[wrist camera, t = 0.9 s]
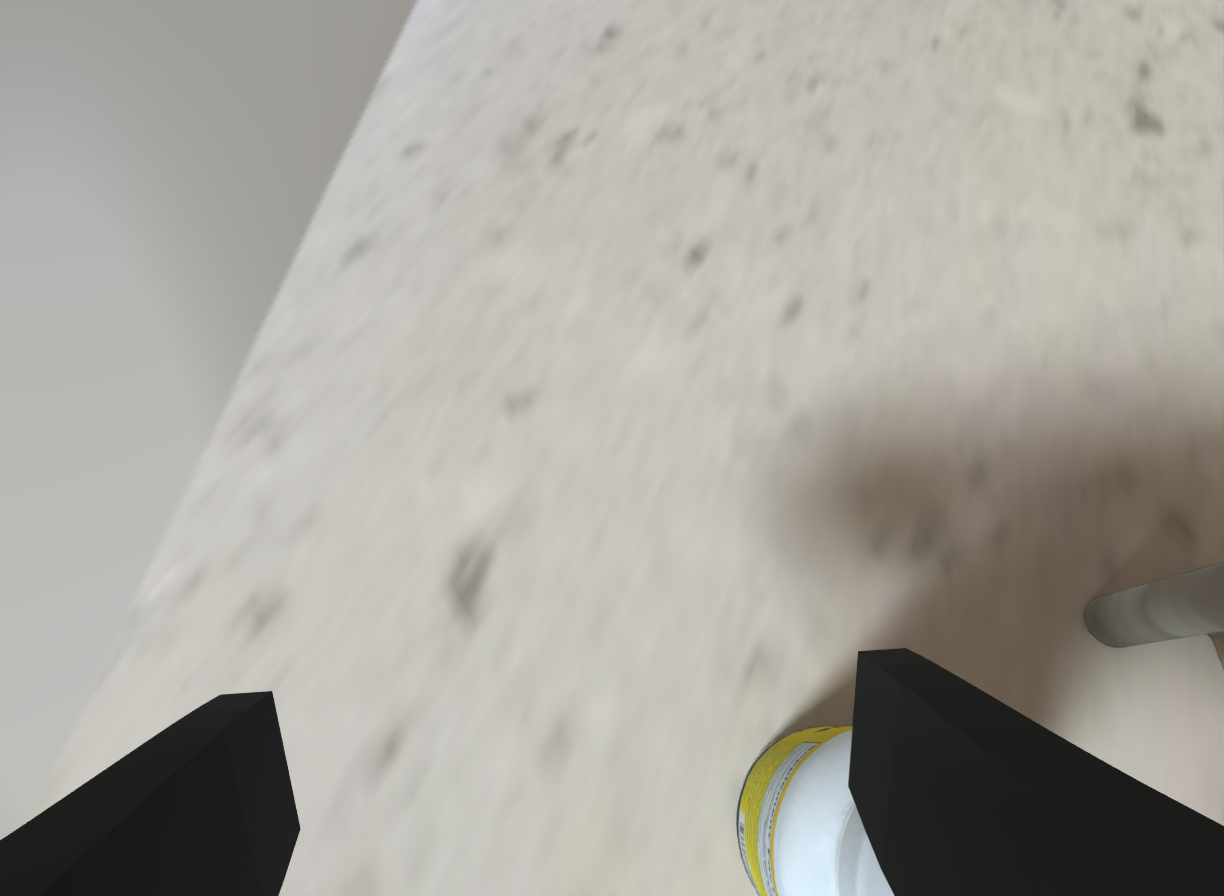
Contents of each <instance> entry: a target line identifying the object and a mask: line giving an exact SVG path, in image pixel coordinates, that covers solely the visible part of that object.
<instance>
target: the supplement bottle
mask: <svg viewBox="0 0 1224 896" xmlns="http://www.w3.org/2000/svg"><path fill="white" fill-rule="evenodd" d="M852 727H853V725H846V726H833V727H813V728H807V729H802V730H798V731H795V732H792V733H789V734H787V735H785V736H783V737H781V738H779V739H777V740H776V741H774V742H773V743H771V744H770V745H769V746H768V747H767V748H766V749H765V750H764V751H763V752H762V753H761V754H760V755H759V756H758V757H757V758H756V760H755V761H754V762H753V764H752V765H751V767H750V769H749V770H748V772H747V774H746V776H745V778H744V781H743V784H742V787H741V790H740V793H739V796H738V802H737V808H736V836H737V842H738V848H739V852H740V856H741V859H742V862H743V865H744V867H745V870H746V872H747V875H748V877H749V879H750V881H751V883H752V885H753V886H754V888H755V890H756V892H757V894H758V895H759V896H894V894H893V892H892V890H891V888H890V886H889V884H888V882H887V880H886V878H885V876H884V874H883V872H882V870H881V868H880V866H879V863H878V861H877V858H876V856H875V853H874V851H873V849H872V846H871V844H870V841H869V839H868V836H867V834H866V832H865V829H864V826H863V824H862V821H861V818H860V816H859V813H858V811H857V808H856V805H855V803H854V800H853V798H852V795H851V792H850V790H849V787H848V780H849V767H850V753H851V740H852Z"/></svg>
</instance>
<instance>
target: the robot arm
mask: <svg viewBox="0 0 1224 896" xmlns="http://www.w3.org/2000/svg"><path fill="white" fill-rule="evenodd" d="M848 787H849V790H850V792H851V795H852V798H853V800H854V803H855V805H856V808H857V811H858V813H859V816H860V818H861V821H862V824H863V826H864V829H865V832H866V834H867V836H868V839H869V841H870V844H871V846H872V849H873V851H874V853H875V856H876V858H877V861H878V863H879V866H880V868H881V870H882V872H883V874H884V876H885V878H886V880H887V882H888V884H889V886H890V888H891V890H892V892H893V894H894V896H1224V826H1223V825H1221V824H1219V823H1217V822H1215V821H1213V820H1211V819H1209V818H1207V817H1206V816H1204V815H1202V814H1200V813H1198V812H1196V811H1194V810H1192V809H1191V808H1189V807H1187V806H1185V805H1183V804H1181V803H1179V802H1177V801H1175V800H1174V799H1172V798H1170V797H1168V796H1166V795H1164V794H1162V793H1160V792H1158V791H1157V790H1155V789H1153V788H1151V787H1149V786H1147V785H1145V784H1143V783H1142V782H1140V781H1138V780H1136V779H1134V778H1133V777H1131V776H1129V775H1127V774H1125V773H1124V772H1122V771H1120V770H1118V769H1116V768H1115V767H1113V766H1111V765H1109V764H1107V763H1105V762H1104V761H1102V760H1100V759H1098V758H1097V757H1095V756H1093V755H1091V754H1090V753H1088V752H1086V751H1084V750H1083V749H1081V748H1079V747H1077V746H1076V745H1074V744H1072V743H1070V742H1069V741H1067V740H1065V739H1063V738H1062V737H1060V736H1058V735H1056V734H1055V733H1053V732H1051V731H1050V730H1048V729H1046V728H1044V727H1043V726H1041V725H1039V724H1038V723H1036V722H1034V721H1032V720H1031V719H1029V718H1027V717H1026V716H1024V715H1022V714H1021V713H1019V712H1017V711H1015V710H1014V709H1012V708H1010V707H1009V706H1007V705H1005V704H1004V703H1002V702H1000V701H999V700H997V699H995V698H993V697H992V696H990V695H988V694H987V693H985V692H983V691H982V690H980V689H978V688H977V687H975V686H973V685H971V684H970V683H968V682H966V681H965V680H963V679H961V678H960V677H958V676H956V675H954V674H953V673H951V672H949V671H947V670H946V669H944V668H942V667H940V666H939V665H937V664H935V663H933V662H932V661H930V660H928V659H926V658H924V657H922V656H920V655H918V654H916V653H914V652H912V651H910V650H908V649H906V648H901V649H887V650H872V651H858V661H857V674H856V688H855V701H854V714H853V727H852V740H851V753H850V767H849V780H848ZM299 831H300V824H299V819H298V815H297V810H296V805H295V800H294V795H293V790H292V785H291V781H290V776H289V771H288V766H287V761H286V756H285V751H284V746H283V742H282V737H281V732H280V727H279V722H278V717H277V712H276V708H275V703H274V698H273V693H272V691H268V692H253V693H238V694H224V695H219V696H217V697H216V698H214V699H212V700H210V701H209V702H207V703H205V704H204V705H202V706H200V707H199V708H197V709H195V710H194V711H192V712H191V713H189V714H187V715H186V716H184V717H183V718H181V719H180V720H178V721H177V722H175V723H174V724H172V725H171V726H169V727H168V728H166V729H165V730H163V731H162V732H160V733H159V734H157V735H156V736H154V737H153V738H151V739H150V740H148V741H147V742H145V743H144V744H142V745H141V746H139V747H138V748H136V749H135V750H133V751H132V752H130V753H129V754H128V755H126V756H125V757H123V758H122V759H120V760H119V761H117V762H116V763H114V764H113V765H111V766H110V767H108V768H107V769H106V770H104V771H103V772H101V773H100V774H98V775H97V776H95V777H94V778H92V779H91V780H89V781H88V782H86V783H85V784H83V785H82V786H80V787H79V788H77V789H76V790H74V791H73V792H72V793H70V794H69V795H67V796H66V797H64V798H63V799H61V800H60V801H58V802H57V803H55V804H54V805H52V806H51V807H49V808H48V809H46V810H45V811H43V812H42V813H41V814H39V815H38V816H36V817H35V818H33V819H32V820H30V821H29V822H27V823H26V824H24V825H23V826H21V827H20V828H18V829H17V830H15V831H14V832H13V833H11V834H9V835H8V836H6V837H5V838H3V839H2V840H0V896H278V895H279V892H280V890H281V887H282V884H283V881H284V878H285V875H286V872H287V869H288V866H289V863H290V859H291V856H292V853H293V850H294V847H295V844H296V841H297V838H298V835H299Z"/></svg>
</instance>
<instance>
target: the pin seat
mask: <svg viewBox="0 0 1224 896" xmlns="http://www.w3.org/2000/svg"><path fill="white" fill-rule="evenodd" d="M1085 621H1086V624H1087V627H1088V628H1089V630H1090V632H1091V633H1092V634H1093V636H1094V637H1095V638H1096V639H1098V640H1099V641H1100V642H1102V643H1104V644H1106V645H1108V646H1111V647H1116V648H1122V647H1128V646H1135V645H1141V644H1147V643H1153V642H1159V641H1165V640H1172V639H1178V638H1184V637H1190V636H1196V635H1202V634H1207V635H1209V636H1210V637H1212V640H1213V642H1214V645H1215V647H1216V650H1217V653H1218V655H1219V658H1220V660H1221V663H1222V665H1223V668H1224V562H1222V563H1219V564H1215V565H1211V566H1208V567H1204V568H1201V569H1197V570H1194V571H1190V572H1187V573H1183V574H1179V575H1176V576H1172V577H1169V578H1165V579H1162V580H1158V581H1154V582H1151V583H1147V584H1144V585H1140V586H1137V587H1133V588H1130V589H1126V590H1122V591H1119V592H1115V593H1112V594H1108V595H1105V596H1101V597H1097V598H1095V599H1093V600H1092V601H1091V602H1089V604H1088V605H1087V607H1086V610H1085Z"/></svg>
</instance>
